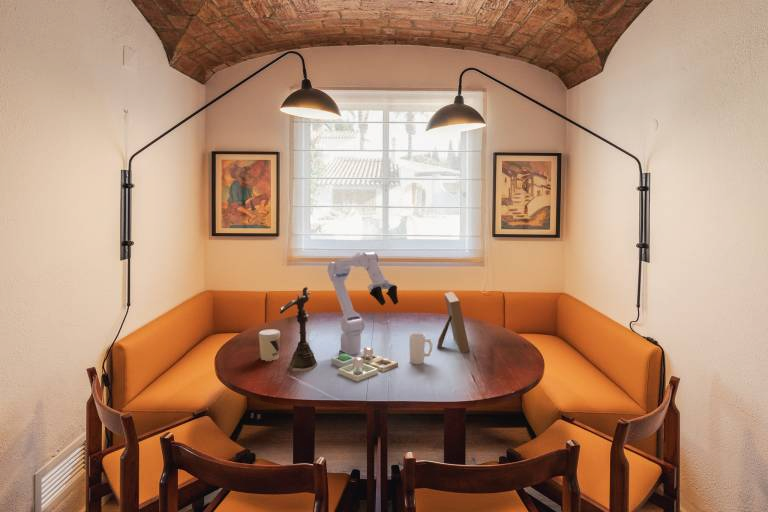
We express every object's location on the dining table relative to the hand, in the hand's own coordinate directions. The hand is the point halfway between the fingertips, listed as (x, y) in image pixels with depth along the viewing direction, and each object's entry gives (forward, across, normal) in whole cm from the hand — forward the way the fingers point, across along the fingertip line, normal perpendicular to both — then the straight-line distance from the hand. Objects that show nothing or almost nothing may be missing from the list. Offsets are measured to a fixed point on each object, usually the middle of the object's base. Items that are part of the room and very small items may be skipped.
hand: (390, 303), depth 169 cm
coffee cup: (-7, -26, +55) cm, 62 cm away
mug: (+22, +19, +15) cm, 33 cm away
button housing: (+11, -8, +32) cm, 34 cm away
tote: (+19, -10, +23) cm, 31 cm away
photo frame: (+17, +47, +17) cm, 53 cm away
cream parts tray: (+16, +2, +24) cm, 29 cm away
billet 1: (+18, -10, +22) cm, 31 cm away
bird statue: (+4, -24, +42) cm, 48 cm away
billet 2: (+13, +2, +28) cm, 31 cm away
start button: (+9, -8, +31) cm, 33 cm away
